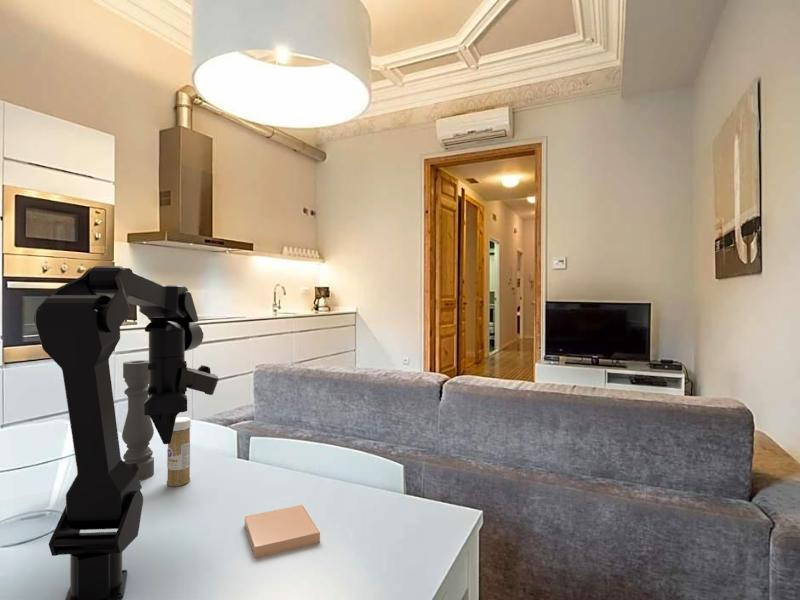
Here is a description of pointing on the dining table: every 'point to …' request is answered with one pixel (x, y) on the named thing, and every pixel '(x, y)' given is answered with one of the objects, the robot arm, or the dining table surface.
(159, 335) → the robot arm
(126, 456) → the candle holder
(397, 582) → the dining table surface
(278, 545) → the tile
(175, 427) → the sprinkles bottle
